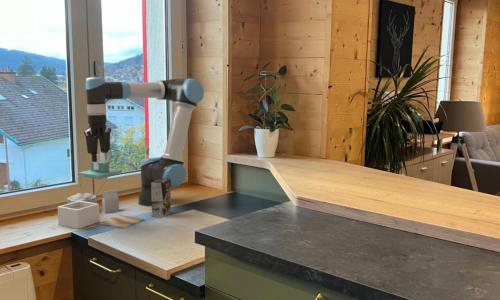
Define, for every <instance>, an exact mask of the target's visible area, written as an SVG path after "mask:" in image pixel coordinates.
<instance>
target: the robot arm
mask: <svg viewBox="0 0 500 300" xmlns="http://www.w3.org/2000/svg"><path fill="white" fill-rule="evenodd" d="M85 94H86V107H87V108H86V109H87V114H88V115H87V123H88V125H89V126H88V129H87V130H84V131H83V135H84V136H85V140H86V141H85V142H86V150H87V151H86V152H87V154H90V155H91V162H93V163H94V169H97V170H99V169H100V168H99V162H107V154H108V153H109V151H110V150H111V132H112V128H111V127H110V128H109V127H107V125H106V124H107V115H106V113H107V108H106V107H107V105H106V102H107V101H108V100H128V99H157V100H159V101H163V100H164V101H170V102H172V104H173V105H174V110H173V115H172V118H171V124H170V129H169V132H168V137H167V142H166V146H165V151H164V154H163V155H161V156H160V157H158V156H157V157H148V158H143V159H141V161H140V180H141V182H140V184H141V188H140V192H139V195H138V199H137V200H138V201H137V202H138V204H139V205H142V206H147V207H152V199H151V198H152V197H151V182H153V181H155V180H157V179H171V188H177V187H179V186H180V185H182V184H183V183H184V182H185V180H186V176H187V170H186V167H185V166H184V164H185V161H184V159H183V153H184V150H185V145H186V142H187V141H186V140H187V136H188V131H189V127H190V122H191V119H192V113H193V111H194V110H196V109H197V105H198V103H200V102H201V101H202V100H203V98H204V96H205V91H204V86H203V85H202V83H201V82H200V81H199V80H198V79H195V78H190V77H189V78H172V79H165V80H156V81H154V82H149V81H148V82H142V81H141V82H140V81H139V82H137V81H135V82H133V81H132V82H131V81H129V82H128V81H105V78H104V77H87V78H86V79H85ZM106 100H107V101H106ZM98 144H99V145H98ZM98 147H99V148H100V152H99V153H98Z"/></svg>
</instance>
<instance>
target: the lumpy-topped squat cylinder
mask: <svg viewBox="0 0 500 300" xmlns="http://www.w3.org/2000/svg"><path fill="white" fill-rule="evenodd" d="M76 201H84V202H91V203H97V204H98V199H97V195H96V194H93V193H90V192H85V193H82V192H78V193H76V194H73V195H70V196H69V197H67V198H66V204H69V203H73V202H76Z"/></svg>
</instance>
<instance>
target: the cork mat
mask: <svg viewBox="0 0 500 300" xmlns="http://www.w3.org/2000/svg"><path fill="white" fill-rule="evenodd" d="M143 221H145V219H144V218H139V217H134V216H128V215H122V214H120V215H118V216H115V217H112V218H109V219H106V220H102V221H100V222H97V224H98V225H100V226H101V225H102V226H106V227H113V228H118V229H124V228H127V227H130V226H132V225H136V224H138V223H140V222H143Z"/></svg>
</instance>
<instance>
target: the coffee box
mask: <svg viewBox="0 0 500 300" xmlns="http://www.w3.org/2000/svg"><path fill="white" fill-rule="evenodd" d="M151 197H152V198H151V199H152V206H151V217H156V218H165V217H167V216H168V215H170V214H171V213H172V187H171V179H157V180H155V181H153V182H151Z"/></svg>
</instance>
